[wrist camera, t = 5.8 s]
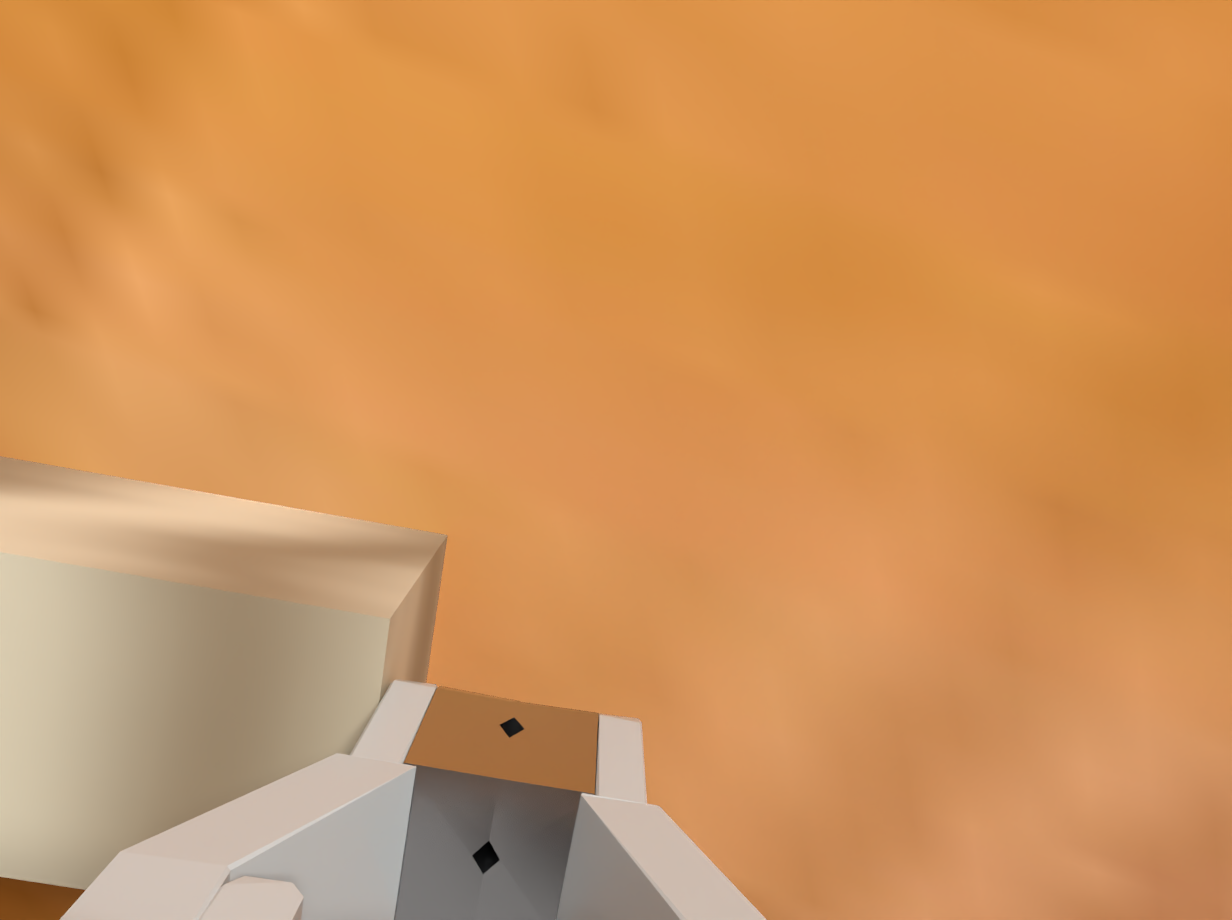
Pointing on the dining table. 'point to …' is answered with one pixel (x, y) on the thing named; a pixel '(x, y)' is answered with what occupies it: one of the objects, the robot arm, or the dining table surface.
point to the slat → (182, 654)
